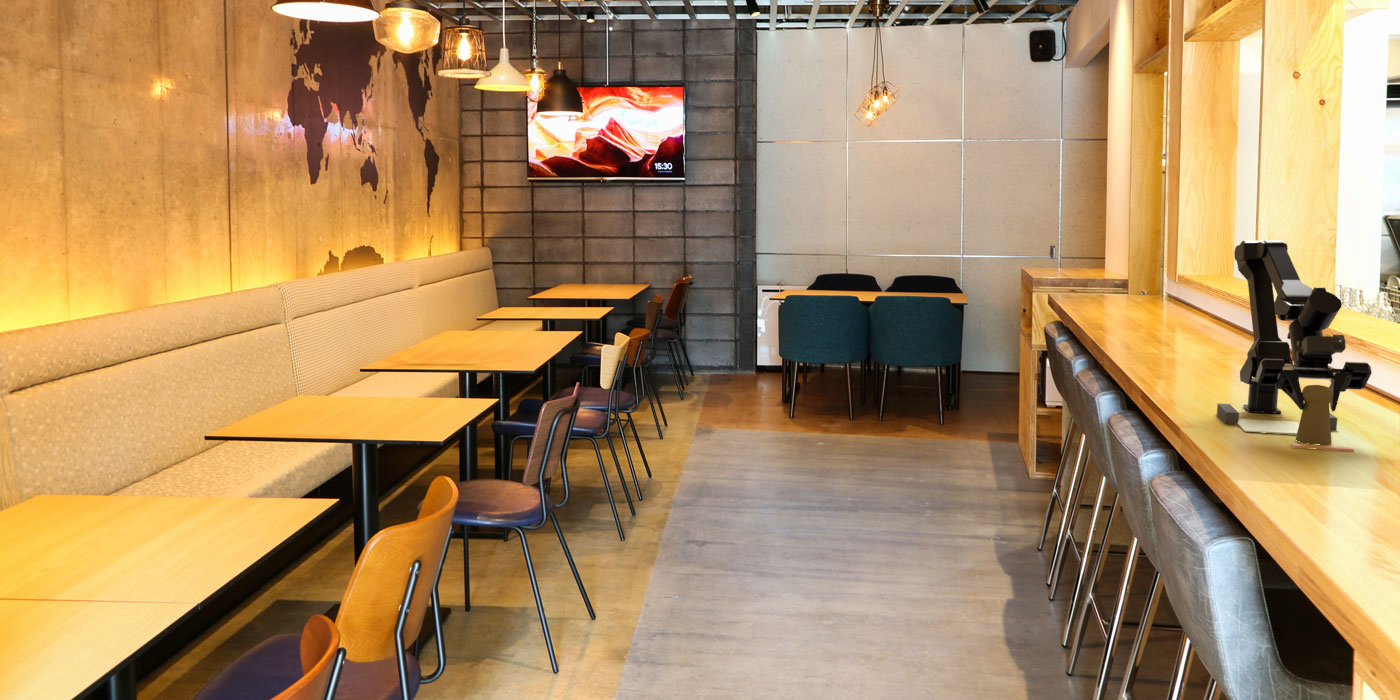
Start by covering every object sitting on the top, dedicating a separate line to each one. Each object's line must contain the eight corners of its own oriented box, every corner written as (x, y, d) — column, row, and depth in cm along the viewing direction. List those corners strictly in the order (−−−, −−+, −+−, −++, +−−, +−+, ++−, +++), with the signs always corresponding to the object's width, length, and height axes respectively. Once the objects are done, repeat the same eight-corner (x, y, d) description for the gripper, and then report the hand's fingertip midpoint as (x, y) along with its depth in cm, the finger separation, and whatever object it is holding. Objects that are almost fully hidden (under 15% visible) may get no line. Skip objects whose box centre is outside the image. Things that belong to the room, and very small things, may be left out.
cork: (1322, 438, 201) (1326, 383, 199) (1337, 445, 195) (1342, 388, 193) (1289, 437, 201) (1294, 382, 200) (1304, 444, 195) (1309, 388, 194)
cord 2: (1310, 419, 218) (1310, 407, 218) (1322, 419, 217) (1323, 408, 217) (1322, 428, 209) (1323, 417, 208) (1336, 429, 208) (1337, 418, 208)
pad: (1233, 420, 217) (1233, 418, 217) (1297, 423, 214) (1297, 421, 214) (1244, 432, 206) (1245, 430, 206) (1312, 436, 202) (1312, 434, 202)
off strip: (1290, 445, 195) (1290, 443, 195) (1350, 449, 192) (1350, 447, 192) (1293, 448, 193) (1293, 445, 193) (1353, 451, 190) (1354, 449, 190)
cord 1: (1216, 414, 224) (1217, 403, 223) (1229, 414, 223) (1229, 404, 222) (1225, 423, 214) (1226, 412, 214) (1238, 424, 213) (1238, 413, 213)
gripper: (1263, 318, 201) (1272, 382, 192) (1373, 320, 196) (1387, 387, 187) (1252, 352, 210) (1260, 415, 201) (1356, 355, 204) (1369, 421, 195)
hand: (1318, 409), depth 196 cm, fingers closed on cork, 5 cm apart
